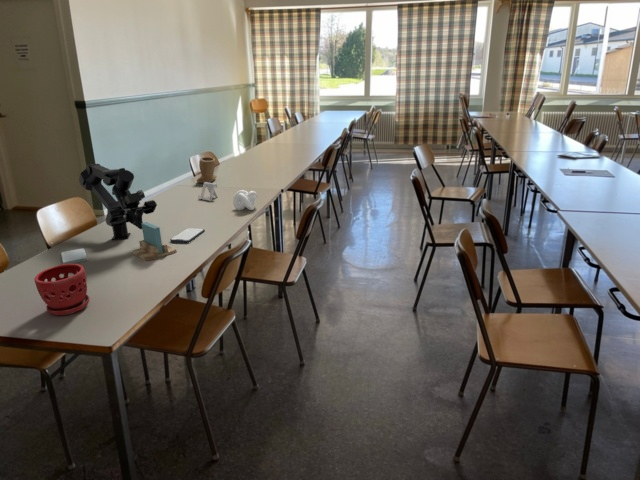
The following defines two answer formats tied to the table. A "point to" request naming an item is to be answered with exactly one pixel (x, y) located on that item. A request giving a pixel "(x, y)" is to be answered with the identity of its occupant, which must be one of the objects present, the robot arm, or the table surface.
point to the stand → (152, 251)
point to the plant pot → (63, 289)
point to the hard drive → (74, 256)
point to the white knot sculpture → (244, 199)
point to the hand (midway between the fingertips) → (142, 228)
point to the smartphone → (187, 235)
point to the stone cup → (206, 169)
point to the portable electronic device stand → (211, 191)
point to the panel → (152, 235)
